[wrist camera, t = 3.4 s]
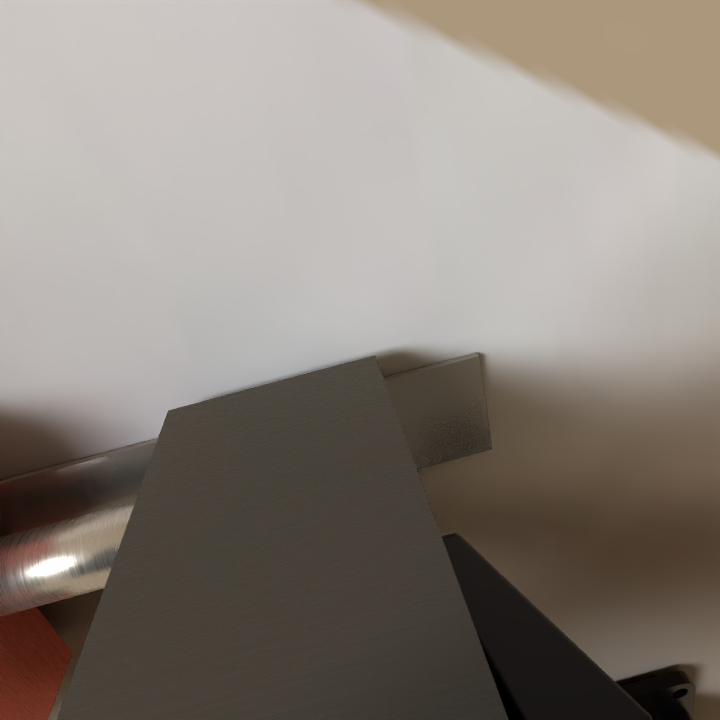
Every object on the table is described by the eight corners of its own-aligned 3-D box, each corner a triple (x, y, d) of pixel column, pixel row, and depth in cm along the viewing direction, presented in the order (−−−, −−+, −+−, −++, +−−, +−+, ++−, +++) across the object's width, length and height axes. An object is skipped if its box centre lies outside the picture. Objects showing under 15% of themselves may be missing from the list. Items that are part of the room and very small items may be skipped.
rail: (476, 352, 11) (479, 356, 11) (489, 444, 12) (492, 449, 12) (-101, 506, 11) (-105, 512, 10) (-33, 586, 12) (-37, 591, 12)
